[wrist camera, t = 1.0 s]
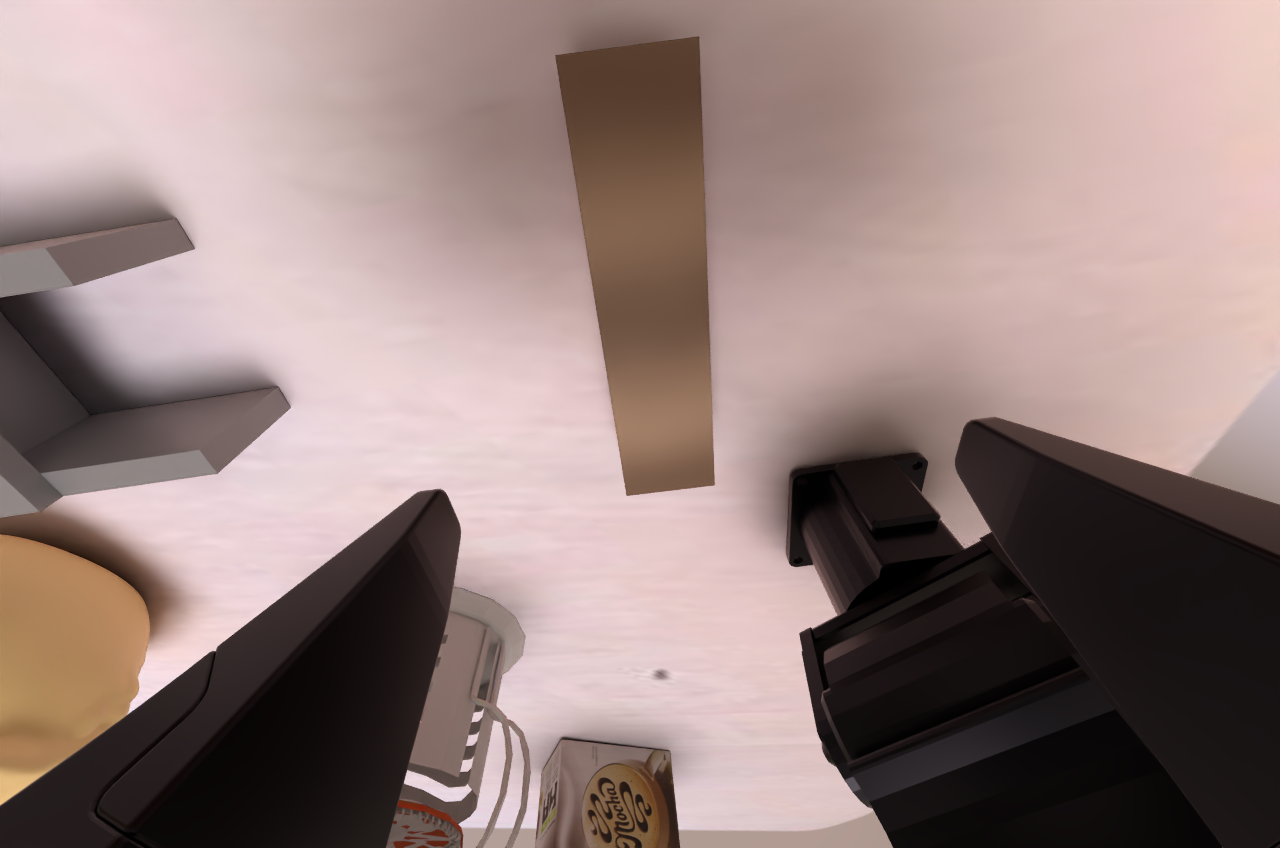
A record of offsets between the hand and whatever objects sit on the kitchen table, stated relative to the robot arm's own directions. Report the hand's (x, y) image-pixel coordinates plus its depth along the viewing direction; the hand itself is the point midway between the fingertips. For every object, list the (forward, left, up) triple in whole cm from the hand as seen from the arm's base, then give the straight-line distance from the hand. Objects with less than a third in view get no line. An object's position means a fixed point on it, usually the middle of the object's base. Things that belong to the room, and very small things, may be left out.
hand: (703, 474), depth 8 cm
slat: (0, 0, -12) cm, 12 cm away
